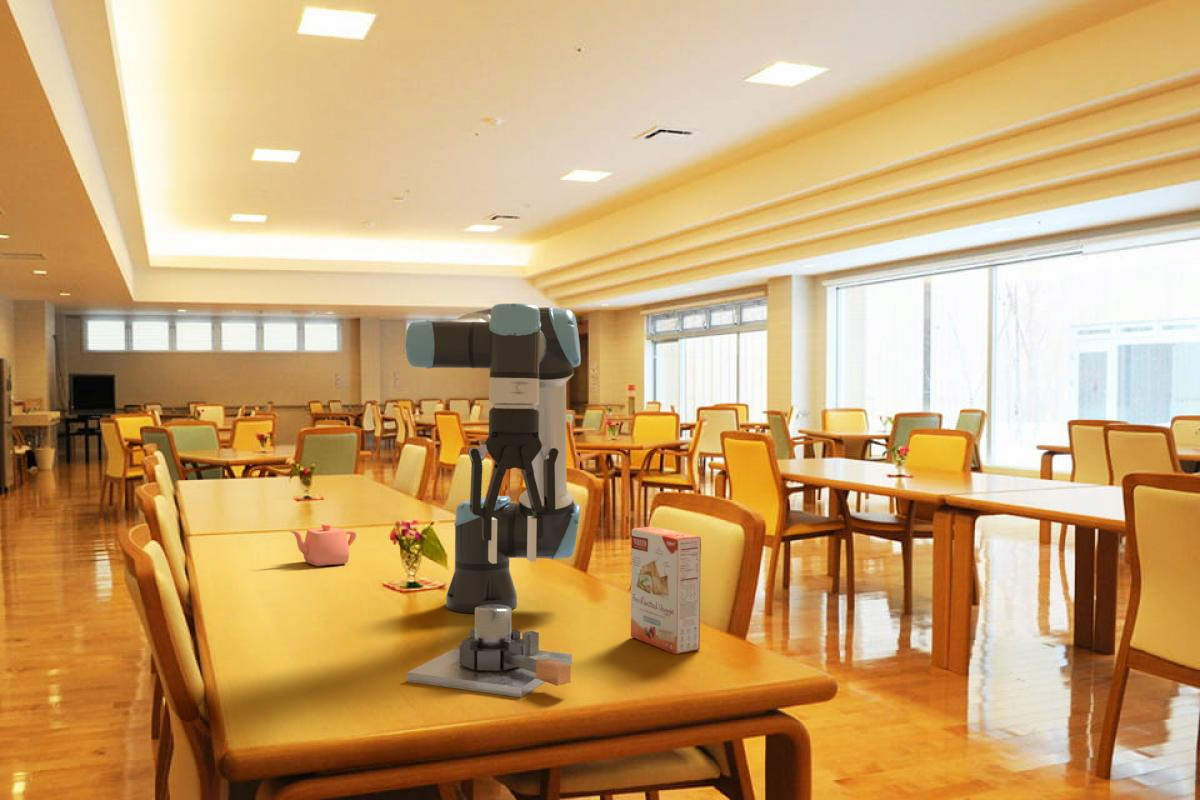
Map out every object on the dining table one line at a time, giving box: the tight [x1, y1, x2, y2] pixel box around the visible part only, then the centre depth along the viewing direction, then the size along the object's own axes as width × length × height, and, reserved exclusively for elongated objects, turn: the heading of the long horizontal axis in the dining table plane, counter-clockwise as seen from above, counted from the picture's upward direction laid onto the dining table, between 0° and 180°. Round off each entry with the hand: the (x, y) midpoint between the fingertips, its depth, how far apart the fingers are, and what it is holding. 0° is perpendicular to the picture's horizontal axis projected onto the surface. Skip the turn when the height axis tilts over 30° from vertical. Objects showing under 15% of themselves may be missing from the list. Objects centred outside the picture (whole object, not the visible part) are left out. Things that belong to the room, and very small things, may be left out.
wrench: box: [459, 629, 572, 687], centre depth 153 cm, size 23×10×4 cm, turn 44°
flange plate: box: [406, 604, 573, 698], centre depth 158 cm, size 20×20×10 cm
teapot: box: [289, 523, 358, 567], centre depth 252 cm, size 12×18×10 cm, turn 124°
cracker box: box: [630, 526, 702, 655], centre depth 176 cm, size 14×6×21 cm, turn 34°
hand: (512, 560), depth 144 cm, fingers open, 5 cm apart
